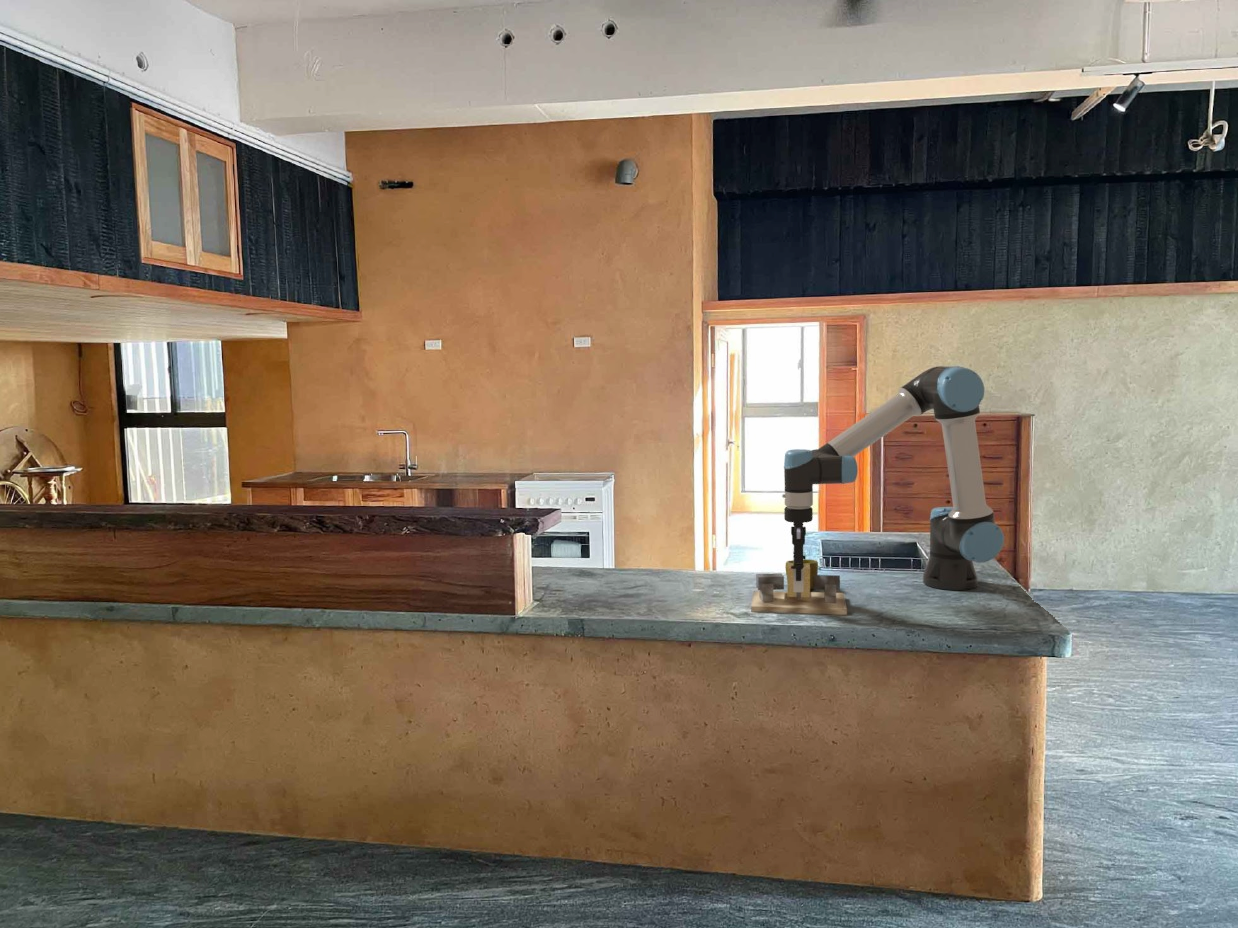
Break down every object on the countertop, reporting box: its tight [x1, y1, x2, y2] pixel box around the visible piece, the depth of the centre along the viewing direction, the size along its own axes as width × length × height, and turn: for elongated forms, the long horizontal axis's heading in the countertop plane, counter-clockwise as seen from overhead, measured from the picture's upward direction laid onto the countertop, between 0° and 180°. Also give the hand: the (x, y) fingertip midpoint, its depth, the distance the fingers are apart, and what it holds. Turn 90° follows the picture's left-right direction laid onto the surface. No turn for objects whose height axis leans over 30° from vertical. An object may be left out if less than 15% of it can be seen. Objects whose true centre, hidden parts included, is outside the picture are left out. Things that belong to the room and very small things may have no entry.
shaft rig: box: [750, 572, 848, 616], centre depth 246 cm, size 25×16×8 cm, turn 79°
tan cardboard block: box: [786, 563, 811, 597], centre depth 246 cm, size 6×6×8 cm
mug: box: [784, 558, 819, 590], centre depth 265 cm, size 12×10×10 cm
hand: (798, 587), depth 246 cm, fingers open, 9 cm apart
